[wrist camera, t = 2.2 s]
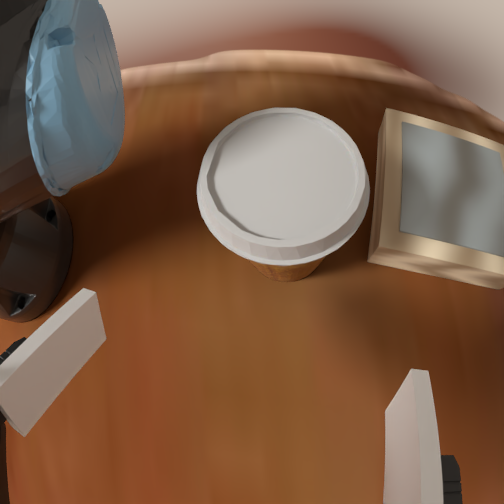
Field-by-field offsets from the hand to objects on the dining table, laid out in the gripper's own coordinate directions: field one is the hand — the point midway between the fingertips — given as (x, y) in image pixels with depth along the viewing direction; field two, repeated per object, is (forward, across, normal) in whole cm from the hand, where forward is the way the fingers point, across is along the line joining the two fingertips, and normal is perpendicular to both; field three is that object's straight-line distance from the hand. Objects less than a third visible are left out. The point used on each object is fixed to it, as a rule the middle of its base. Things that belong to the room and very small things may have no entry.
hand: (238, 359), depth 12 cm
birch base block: (+21, +14, +2) cm, 25 cm away
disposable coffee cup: (+16, 0, -3) cm, 17 cm away
